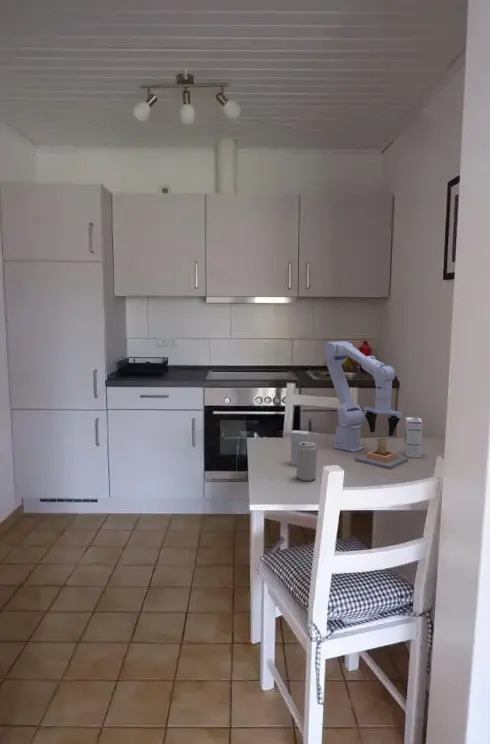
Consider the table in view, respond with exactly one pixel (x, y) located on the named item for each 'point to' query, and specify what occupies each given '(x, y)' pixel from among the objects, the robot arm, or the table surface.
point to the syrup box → (413, 437)
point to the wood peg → (381, 447)
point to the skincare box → (297, 443)
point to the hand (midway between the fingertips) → (381, 433)
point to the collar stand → (382, 459)
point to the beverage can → (306, 461)
